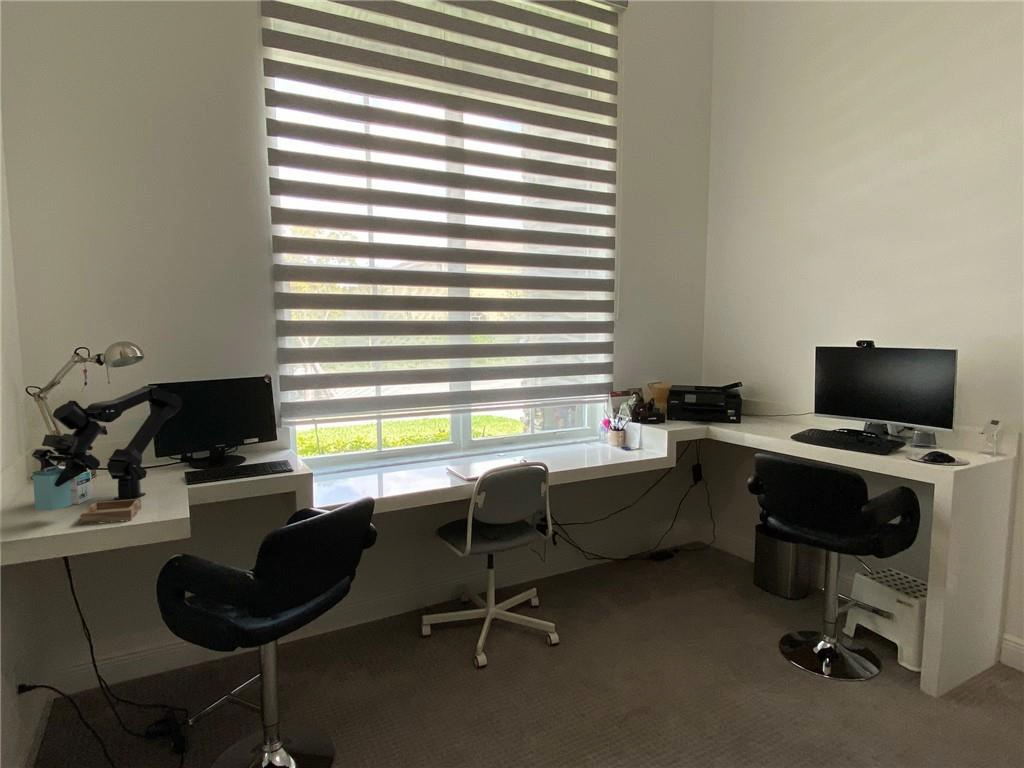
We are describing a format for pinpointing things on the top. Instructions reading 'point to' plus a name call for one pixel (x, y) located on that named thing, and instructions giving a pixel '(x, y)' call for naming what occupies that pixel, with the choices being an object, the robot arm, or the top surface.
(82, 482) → the light bulb box
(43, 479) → the light blue block
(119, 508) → the tray
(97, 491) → the top surface
